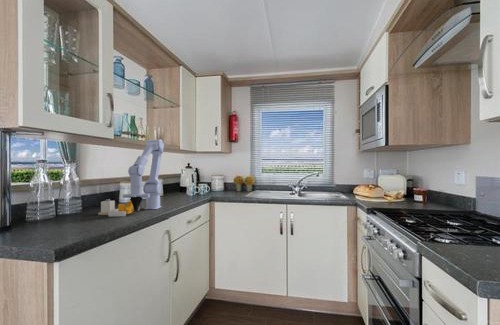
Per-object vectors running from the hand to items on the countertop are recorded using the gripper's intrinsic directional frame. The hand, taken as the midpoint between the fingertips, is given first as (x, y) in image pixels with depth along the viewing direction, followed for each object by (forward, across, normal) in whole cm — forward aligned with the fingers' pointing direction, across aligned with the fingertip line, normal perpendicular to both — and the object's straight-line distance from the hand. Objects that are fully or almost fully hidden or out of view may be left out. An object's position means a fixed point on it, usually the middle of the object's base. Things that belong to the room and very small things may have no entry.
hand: (136, 210), depth 141 cm
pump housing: (+2, -16, 0) cm, 16 cm away
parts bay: (+2, -6, 0) cm, 6 cm away
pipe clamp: (+2, -6, -1) cm, 7 cm away
